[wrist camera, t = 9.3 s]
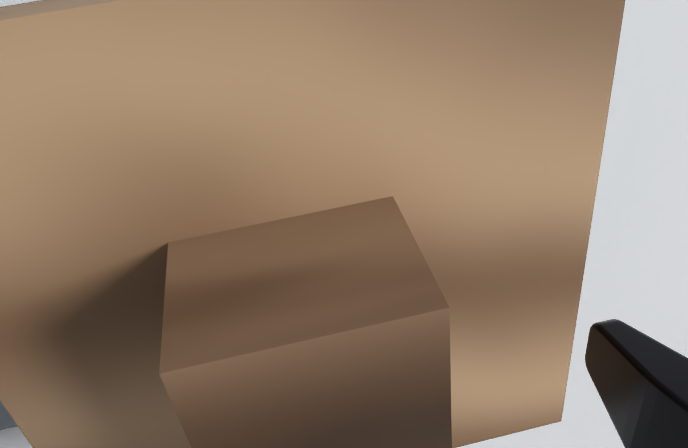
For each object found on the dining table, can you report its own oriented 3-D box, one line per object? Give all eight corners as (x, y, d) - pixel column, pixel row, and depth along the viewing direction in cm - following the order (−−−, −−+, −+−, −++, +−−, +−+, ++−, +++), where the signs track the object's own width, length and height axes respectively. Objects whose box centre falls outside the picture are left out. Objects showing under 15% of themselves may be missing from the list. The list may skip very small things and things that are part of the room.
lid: (546, 396, 16) (627, 531, 13) (99, 507, 15) (75, 682, 12) (608, -94, 10) (805, -49, 6) (-201, 40, 8) (-435, 173, 5)
